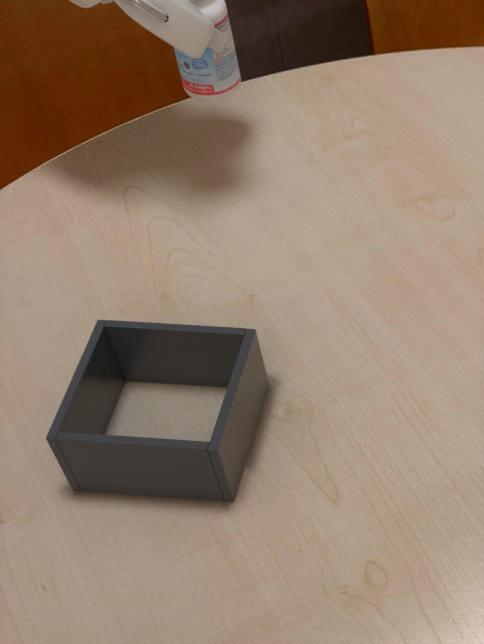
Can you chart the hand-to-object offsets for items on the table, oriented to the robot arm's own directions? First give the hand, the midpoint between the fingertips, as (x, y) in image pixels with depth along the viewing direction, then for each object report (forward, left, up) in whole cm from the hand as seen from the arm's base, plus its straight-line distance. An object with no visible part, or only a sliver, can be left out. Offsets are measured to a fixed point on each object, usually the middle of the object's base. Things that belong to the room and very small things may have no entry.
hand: (205, 27), depth 107 cm
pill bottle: (0, 0, -6) cm, 6 cm away
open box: (+6, -46, -11) cm, 48 cm away
